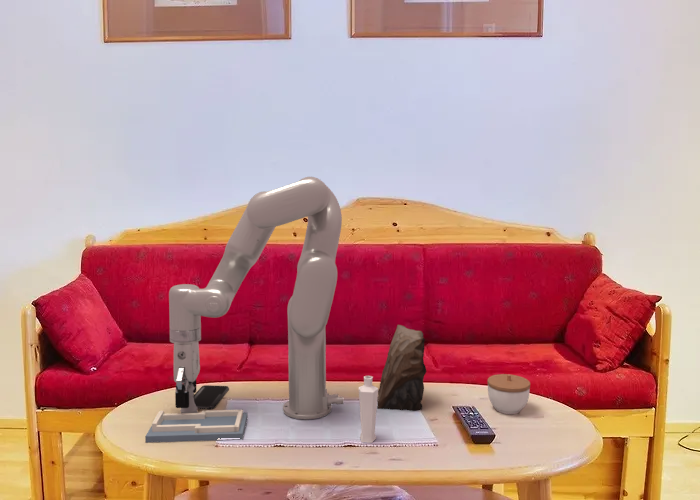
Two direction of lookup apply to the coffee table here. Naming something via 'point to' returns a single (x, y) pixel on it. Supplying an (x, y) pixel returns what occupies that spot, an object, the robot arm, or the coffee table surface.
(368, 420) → the perfume bottle
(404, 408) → the brown rock
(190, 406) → the rook chess piece
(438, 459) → the coffee table surface
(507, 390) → the lidded jar
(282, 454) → the coffee table surface
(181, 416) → the keyhole board
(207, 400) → the phone
